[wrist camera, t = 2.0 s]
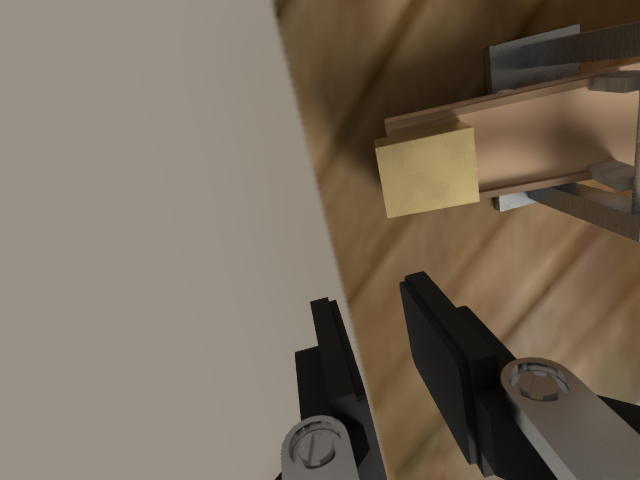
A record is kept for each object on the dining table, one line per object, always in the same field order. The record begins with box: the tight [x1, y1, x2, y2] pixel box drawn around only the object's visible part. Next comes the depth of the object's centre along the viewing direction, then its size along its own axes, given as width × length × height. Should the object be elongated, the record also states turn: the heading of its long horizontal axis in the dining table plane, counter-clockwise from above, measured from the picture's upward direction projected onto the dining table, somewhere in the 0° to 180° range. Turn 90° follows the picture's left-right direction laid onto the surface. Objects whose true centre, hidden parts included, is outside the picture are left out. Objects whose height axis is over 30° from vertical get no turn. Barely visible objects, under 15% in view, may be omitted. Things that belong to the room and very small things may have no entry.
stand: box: [484, 21, 640, 242], centre depth 26 cm, size 13×7×11 cm, turn 13°
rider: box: [374, 121, 480, 218], centre depth 27 cm, size 5×6×4 cm
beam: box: [384, 60, 640, 200], centre depth 25 cm, size 7×28×5 cm, turn 103°
